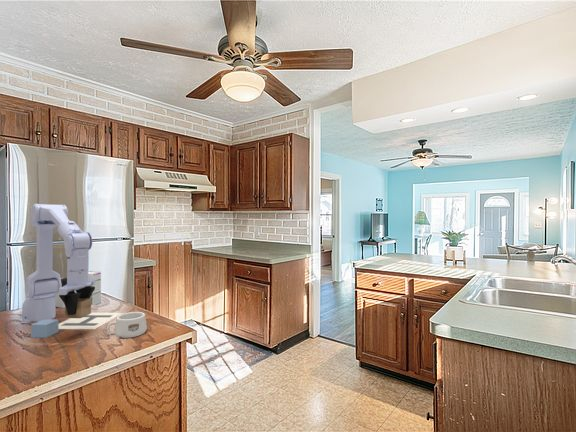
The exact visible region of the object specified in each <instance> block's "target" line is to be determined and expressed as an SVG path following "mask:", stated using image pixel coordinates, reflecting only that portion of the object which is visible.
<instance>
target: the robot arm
mask: <svg viewBox="0 0 576 432" xmlns="http://www.w3.org/2000/svg"><path fill="white" fill-rule="evenodd" d="M68 216H69V210H68V207H67V206H66V205H65V204H63V203H62V204H50V203H49V204H48V203H47V204H45V203H43V204H42V203H34V204H32V206H31V209H30V217H29V218H30V220H29V221H30V225H31V227H35V229H36V252H35V253H36V256H35V257H36V261H35V262H36V263H35V264H36V268H35V271H34V272H32V273H31V274H30V275H27V277H26V279H25V280H26V282H25V286H24V287H25V288H24V291H25V295H26V299H24V300H23V303H22V305H21V306H22V311H21V318H22V319H21V320H22V321H20V324H28V323H30V322H33V323H36V322H39V321H41V320H43V319H55V318H56V312H57V311H56V309H57V307H56V295H57V294H58V293H59V297H60V298H61V299H62V301H63V302H64V304H65V307H66V310H67V313H68V315H75V314H76V311H77V303H78V299H79V298H90V297H91V295H92V293H93V291H94V290H95V287H94V286H91V285H95V279H88V271H89V264H90V263H89V260H90V259H89V254H90V253H89V250H91V249H92V247H93V237H92V234H91V233H90V232H89V231H88V232H86V231H83V230H82V229H81V228H80V226H78V224H77V223H76V222H75V221H74V220H70V219H69V218H68ZM56 227H57V233H58V234H59V236H60V237H61V239H62V240H63V247H64V250H65V256H66V257H67V259H66V263H67V266H66V267H67V268H66V269H67V270H66V271H67V272H66V275H67V276H66V277H67V285H65V286H63V287H62V283H61V279H60V278H61V274H60V273H59V272H57V271H55V270H53V265H54V264H53V262H54V261H53V253H54V251H53V250H54V246H53V245H54V244H53V243H54V242H53V241H54V238H53V236H54V235H53V231H54V228H56ZM74 291H76V292H74Z"/></svg>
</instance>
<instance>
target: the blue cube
mask: <svg viewBox="0 0 576 432" xmlns="http://www.w3.org/2000/svg"><path fill="white" fill-rule="evenodd" d="M59 323H60V322H59V319H58V318H57V319H55V318H53V319H43V320H41V321H39V322H33V323H32V324H30V338H32V339H33V338H35V339H36V338H37V339H42V338H43V339H44V338H45V339H47V338H49V337H51V336H53V335H55V334H58V333H59V329H58V328H59Z"/></svg>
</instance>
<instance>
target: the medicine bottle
mask: <svg viewBox="0 0 576 432" xmlns="http://www.w3.org/2000/svg"><path fill="white" fill-rule="evenodd" d="M60 279H61V283H62V287H63V286H65V285H67V276H66V277H60ZM74 292H76V291H74ZM56 308H61V309H65V304H64V302H63V301H62V299H61V298H60V297H59V293H58V294H57V295H56Z"/></svg>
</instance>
